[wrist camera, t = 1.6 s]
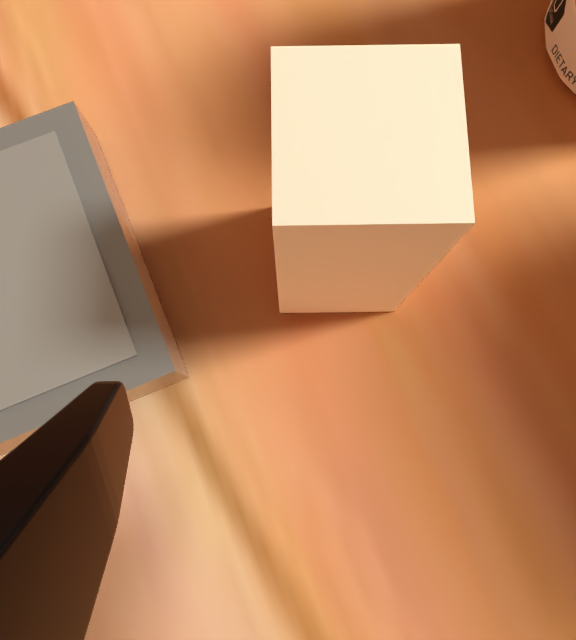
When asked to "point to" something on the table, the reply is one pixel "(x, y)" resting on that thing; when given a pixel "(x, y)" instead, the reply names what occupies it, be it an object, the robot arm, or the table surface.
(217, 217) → the table surface
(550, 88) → the table surface
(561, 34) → the supplement can
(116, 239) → the plate
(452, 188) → the block
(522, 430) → the table surface
